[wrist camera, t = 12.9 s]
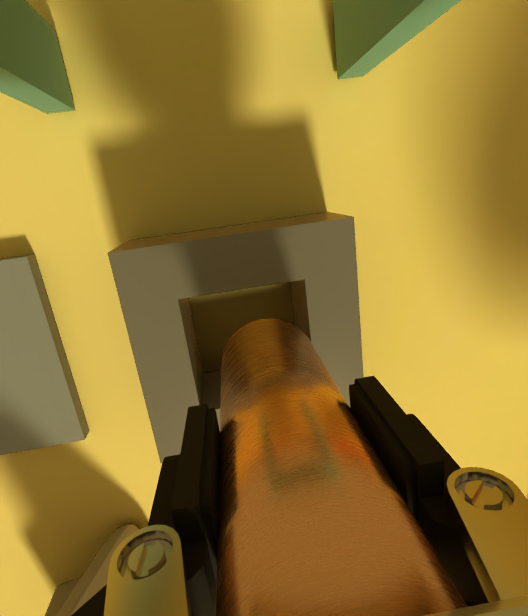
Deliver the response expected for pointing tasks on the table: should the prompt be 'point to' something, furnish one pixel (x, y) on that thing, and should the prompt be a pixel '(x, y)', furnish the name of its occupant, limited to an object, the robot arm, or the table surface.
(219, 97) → the table surface
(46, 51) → the green arch
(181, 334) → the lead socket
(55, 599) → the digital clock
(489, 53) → the table surface
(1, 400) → the mat
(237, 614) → the cylinder
